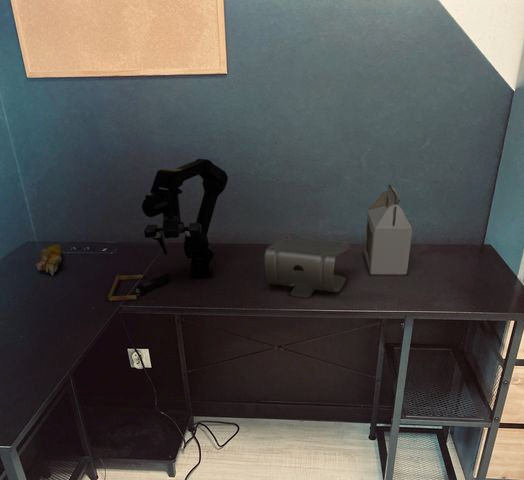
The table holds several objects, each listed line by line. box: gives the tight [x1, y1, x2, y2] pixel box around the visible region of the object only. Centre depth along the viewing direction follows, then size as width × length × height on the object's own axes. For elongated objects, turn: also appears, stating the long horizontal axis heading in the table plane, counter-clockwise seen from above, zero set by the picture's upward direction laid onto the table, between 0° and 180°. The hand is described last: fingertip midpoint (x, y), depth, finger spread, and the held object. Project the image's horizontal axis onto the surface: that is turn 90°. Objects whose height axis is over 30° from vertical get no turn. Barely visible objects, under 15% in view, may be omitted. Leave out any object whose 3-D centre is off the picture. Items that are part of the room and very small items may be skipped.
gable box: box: [363, 184, 413, 276], centre depth 196 cm, size 22×13×28 cm, turn 176°
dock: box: [107, 274, 144, 301], centre depth 188 cm, size 10×19×2 cm, turn 4°
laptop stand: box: [264, 234, 352, 299], centre depth 184 cm, size 26×24×16 cm
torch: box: [35, 243, 62, 276], centre depth 208 cm, size 8×8×25 cm
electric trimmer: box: [133, 272, 171, 296], centre depth 189 cm, size 4×16×3 cm, turn 142°
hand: (175, 254), depth 184 cm, fingers open, 6 cm apart
